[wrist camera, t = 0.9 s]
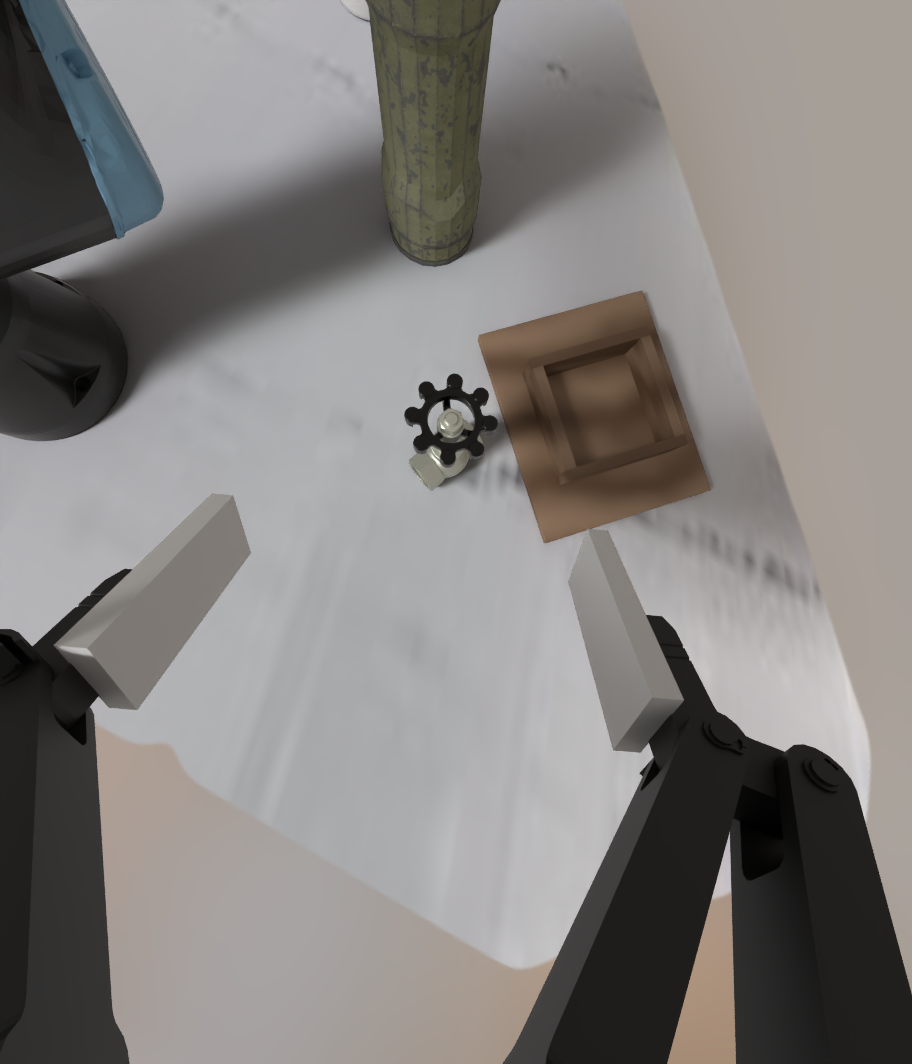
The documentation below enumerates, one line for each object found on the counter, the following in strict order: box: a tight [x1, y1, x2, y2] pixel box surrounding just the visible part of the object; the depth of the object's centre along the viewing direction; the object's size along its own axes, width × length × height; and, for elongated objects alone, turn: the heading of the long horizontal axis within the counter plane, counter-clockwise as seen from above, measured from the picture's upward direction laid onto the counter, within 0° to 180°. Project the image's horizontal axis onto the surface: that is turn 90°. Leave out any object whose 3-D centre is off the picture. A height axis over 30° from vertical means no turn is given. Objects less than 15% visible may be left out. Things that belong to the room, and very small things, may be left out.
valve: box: [404, 374, 498, 491], centre depth 33 cm, size 7×7×12 cm
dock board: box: [478, 291, 711, 543], centre depth 38 cm, size 22×18×4 cm
